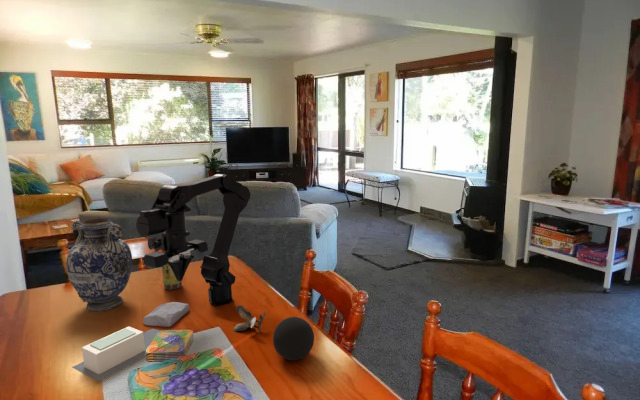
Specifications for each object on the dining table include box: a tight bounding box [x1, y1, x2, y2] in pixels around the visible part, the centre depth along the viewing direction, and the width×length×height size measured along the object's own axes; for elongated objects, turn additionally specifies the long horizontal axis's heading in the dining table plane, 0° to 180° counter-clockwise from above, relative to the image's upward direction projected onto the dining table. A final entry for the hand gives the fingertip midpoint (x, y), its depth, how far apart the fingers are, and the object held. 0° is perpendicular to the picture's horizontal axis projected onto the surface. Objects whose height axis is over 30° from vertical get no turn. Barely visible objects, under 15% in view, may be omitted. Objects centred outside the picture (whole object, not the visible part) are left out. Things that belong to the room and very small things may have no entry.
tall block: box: [81, 326, 145, 374], centre depth 100 cm, size 5×6×12 cm
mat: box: [72, 327, 161, 382], centre depth 103 cm, size 22×11×1 cm, turn 148°
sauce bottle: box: [161, 250, 183, 291], centre depth 146 cm, size 6×6×20 cm
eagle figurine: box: [233, 304, 267, 333], centre depth 114 cm, size 8×7×9 cm
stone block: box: [142, 301, 190, 328], centre depth 122 cm, size 12×5×10 cm
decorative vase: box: [65, 217, 133, 312], centre depth 132 cm, size 21×19×28 cm
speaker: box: [272, 316, 315, 361], centre depth 100 cm, size 10×10×10 cm
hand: (179, 280), depth 120 cm, fingers closed
